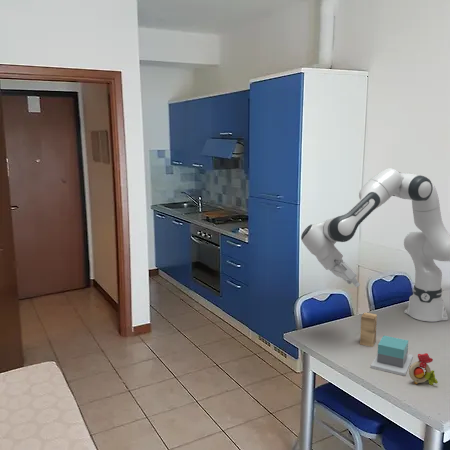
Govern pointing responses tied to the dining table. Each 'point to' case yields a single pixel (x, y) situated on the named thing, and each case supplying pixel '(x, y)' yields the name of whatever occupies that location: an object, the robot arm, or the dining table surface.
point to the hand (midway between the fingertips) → (354, 284)
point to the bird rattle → (418, 372)
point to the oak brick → (368, 329)
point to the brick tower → (392, 356)
